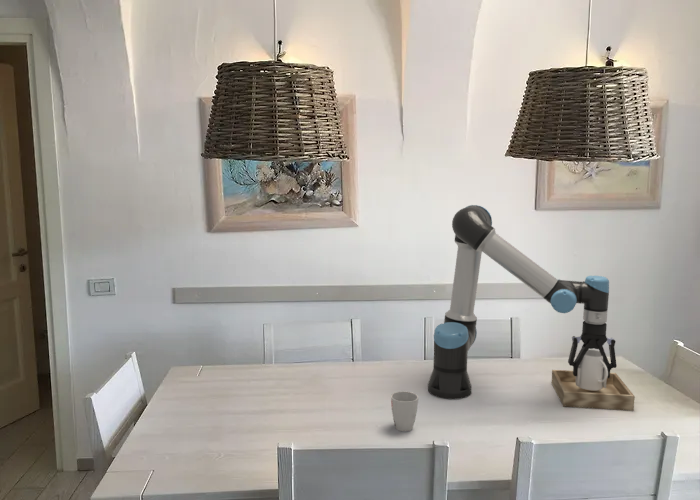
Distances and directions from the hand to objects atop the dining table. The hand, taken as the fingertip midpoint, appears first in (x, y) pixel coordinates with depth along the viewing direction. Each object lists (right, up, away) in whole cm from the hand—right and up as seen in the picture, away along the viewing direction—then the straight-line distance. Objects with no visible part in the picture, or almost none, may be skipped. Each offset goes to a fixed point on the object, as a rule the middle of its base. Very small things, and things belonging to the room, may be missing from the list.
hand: (590, 385), depth 209 cm
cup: (-66, -8, -25) cm, 71 cm away
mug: (+1, -1, 0) cm, 1 cm away
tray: (0, -4, 0) cm, 4 cm away
